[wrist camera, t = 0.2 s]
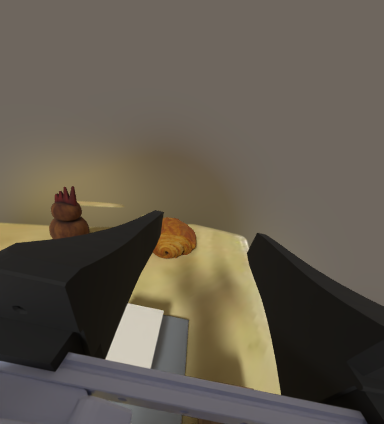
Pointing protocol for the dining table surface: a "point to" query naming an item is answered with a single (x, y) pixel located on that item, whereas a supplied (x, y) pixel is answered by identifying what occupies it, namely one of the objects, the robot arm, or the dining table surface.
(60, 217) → the wooden figurine
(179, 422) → the slate board
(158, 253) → the croissant
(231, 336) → the dining table surface
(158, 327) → the cream block
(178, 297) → the dining table surface
